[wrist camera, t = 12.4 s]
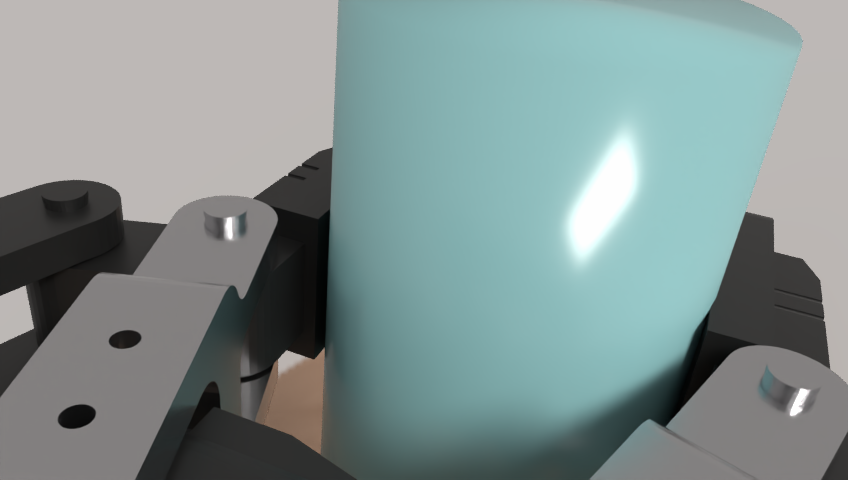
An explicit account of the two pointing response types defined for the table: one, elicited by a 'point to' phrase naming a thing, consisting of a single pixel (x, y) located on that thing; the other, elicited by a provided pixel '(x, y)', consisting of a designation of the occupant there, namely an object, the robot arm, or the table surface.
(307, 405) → the table surface
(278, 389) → the table surface
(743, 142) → the teal canister
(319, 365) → the table surface
